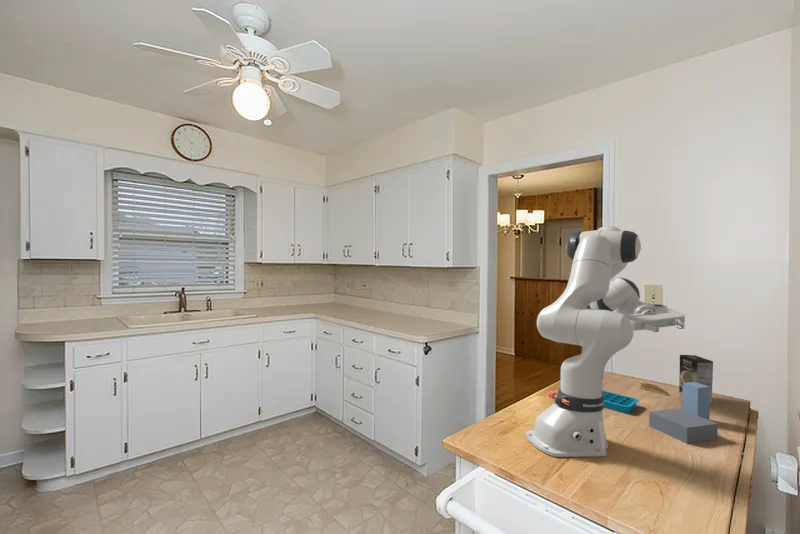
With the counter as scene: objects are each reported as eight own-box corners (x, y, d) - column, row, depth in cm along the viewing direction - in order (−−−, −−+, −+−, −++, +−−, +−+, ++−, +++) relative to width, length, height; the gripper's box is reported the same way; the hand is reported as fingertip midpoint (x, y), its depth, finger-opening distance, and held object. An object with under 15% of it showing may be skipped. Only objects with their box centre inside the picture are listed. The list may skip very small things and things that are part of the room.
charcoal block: (686, 444, 107) (687, 427, 107) (649, 427, 119) (649, 411, 119) (717, 440, 110) (717, 423, 110) (677, 423, 122) (678, 408, 122)
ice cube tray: (583, 392, 150) (583, 385, 150) (640, 407, 135) (640, 399, 135) (570, 399, 142) (570, 391, 142) (629, 416, 127) (629, 407, 127)
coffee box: (678, 394, 148) (678, 354, 148) (694, 394, 148) (695, 354, 147) (695, 403, 139) (696, 360, 139) (713, 403, 139) (713, 360, 138)
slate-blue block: (697, 424, 120) (698, 387, 120) (682, 418, 125) (683, 382, 125) (709, 423, 121) (710, 386, 121) (694, 416, 126) (694, 381, 126)
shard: (668, 396, 146) (668, 392, 146) (647, 395, 148) (647, 391, 148) (655, 387, 157) (655, 383, 157) (635, 386, 159) (635, 382, 159)
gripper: (617, 310, 145) (642, 324, 131) (668, 304, 145) (697, 317, 132) (617, 325, 146) (641, 340, 133) (667, 318, 147) (696, 333, 133)
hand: (669, 328), depth 132 cm, fingers open, 8 cm apart
